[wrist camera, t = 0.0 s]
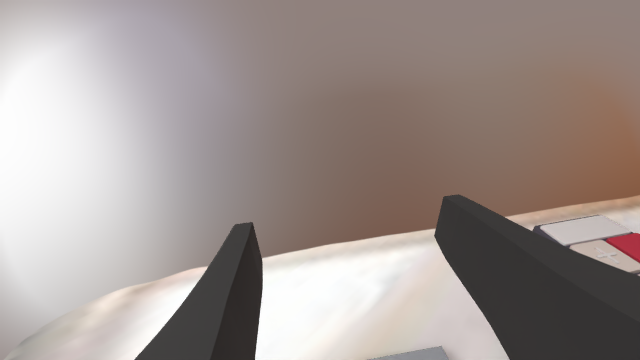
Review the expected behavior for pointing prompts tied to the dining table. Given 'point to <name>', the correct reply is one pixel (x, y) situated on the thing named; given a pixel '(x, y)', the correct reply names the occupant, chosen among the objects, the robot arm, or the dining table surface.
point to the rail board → (418, 355)
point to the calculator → (597, 240)
